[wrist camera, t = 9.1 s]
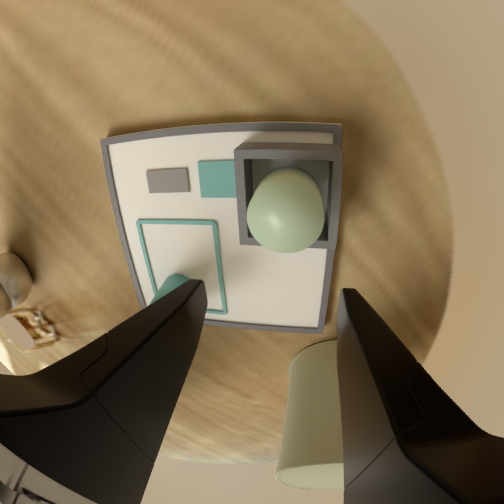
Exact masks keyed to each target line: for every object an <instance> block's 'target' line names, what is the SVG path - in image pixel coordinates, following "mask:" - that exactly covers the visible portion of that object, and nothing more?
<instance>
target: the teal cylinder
mask: <svg viewBox="0 0 504 504" xmlns="http://www.w3.org/2000/svg"><path fill="white" fill-rule="evenodd" d="M189 279H190V278H188V277H186V276H184V275H180V274H173V275H170V276H168V277H167V278H166V280H165V281H164V283H163V284H162V286H161V287H160V289H159V290H158V292H157V293H156V295H155V296H154V298H153V299H152V301H151V302H150V304H152V303H153V302H155V301H156V300H158V299H159V298H161V297H163V296H164V295H166V294H167V293H169V292H170V291H172V290H173V289H175V288H177V287H178V286H180V285H181V284H183V283H184V282H186V281H188V280H189ZM150 304H149V305H150ZM149 305H148V306H149Z"/></svg>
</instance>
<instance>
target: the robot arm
mask: <svg viewBox="0 0 504 504" xmlns="http://www.w3.org/2000/svg"><path fill="white" fill-rule="evenodd" d="M207 305H208V300H207V294H206V288H205V283H204V281H203V280H201V279H189V280H188V281H186V282H184V283H183V284H181V285H180V286H178V287H177V288H175V289H173V290H172V291H170V292H169V293H167V294H166V295H164V296H163V297H161V298H159V299H158V300H156V301H155V302H153V303H152V304H150V305H149V306H147V307H145V308H144V309H142V310H141V311H139V312H138V313H136V314H135V315H133V316H131V317H130V318H128V319H127V320H125V321H124V322H122V323H121V324H119V325H117V326H116V327H114V328H113V329H111V330H110V331H108V334H107V333H105V334H104V335H102V336H100V337H99V338H97V339H96V340H94V341H93V342H91V343H89V344H88V345H86V346H85V347H83V348H81V349H79V350H77V351H76V352H74V353H72V354H70V355H69V356H67V357H65V358H63V359H61V360H59V361H57V362H55V363H54V364H52V365H50V366H48V367H46V368H44V369H42V370H40V371H38V372H36V373H33V374H30V375H24V376H15V375H3V374H0V504H140V503H141V500H142V497H143V494H144V492H145V489H146V486H147V483H148V480H149V478H150V475H151V472H152V469H153V466H154V462H155V460H156V458H157V455H158V452H159V449H160V446H161V444H162V441H163V438H164V435H165V433H166V430H167V427H168V425H169V422H170V419H171V416H172V414H173V411H174V408H175V406H176V403H177V400H178V398H179V395H180V392H181V390H182V387H183V384H184V382H185V379H186V376H187V374H188V371H189V368H190V366H191V363H192V360H193V358H194V355H195V352H196V349H197V346H198V342H199V339H200V334H201V330H202V326H203V322H204V318H205V314H206V310H207ZM337 372H338V383H339V394H340V407H341V422H342V440H343V467H344V489H345V490H344V504H504V438H502V437H498V436H493V435H491V434H489V433H487V432H485V431H484V430H482V429H481V428H479V427H478V426H477V425H476V424H475V423H474V422H473V421H472V420H471V419H470V418H469V417H468V416H467V415H466V414H465V412H463V410H461V408H460V407H459V406H458V405H457V404H456V403H455V402H454V401H453V400H452V399H451V398H450V397H449V396H448V395H447V394H446V393H445V392H444V391H443V390H442V389H441V388H440V387H439V385H437V383H436V382H435V381H434V380H433V379H432V378H431V376H430V375H429V374H428V373H427V372H426V371H425V370H424V368H423V367H422V366H421V364H420V363H419V362H417V360H416V358H415V357H414V356H413V355H412V354H411V352H410V351H409V350H408V349H407V348H406V346H405V345H404V344H403V343H402V342H401V340H400V339H399V338H398V337H397V336H396V335H395V333H394V332H393V331H392V330H391V329H390V328H389V326H388V325H387V324H386V323H385V322H384V321H383V319H382V318H381V317H380V316H379V315H378V314H377V313H376V311H375V310H374V309H373V308H372V307H371V306H370V305H369V303H368V302H367V301H366V300H365V299H364V298H363V297H362V296H361V294H360V293H359V292H358V291H357V290H356V289H353V288H343V289H342V290H341V293H340V299H339V304H338V310H337Z"/></svg>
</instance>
